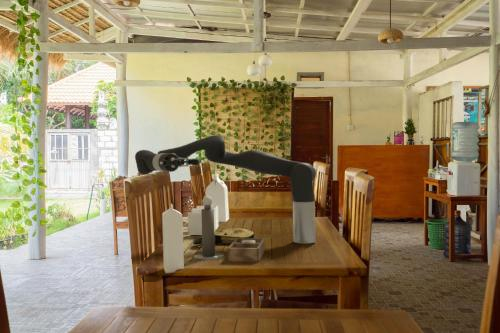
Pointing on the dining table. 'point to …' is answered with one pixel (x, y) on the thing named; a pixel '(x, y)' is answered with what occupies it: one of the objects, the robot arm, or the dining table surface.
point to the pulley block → (229, 236)
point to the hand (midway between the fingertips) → (189, 162)
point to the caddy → (246, 249)
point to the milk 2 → (219, 197)
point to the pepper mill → (208, 228)
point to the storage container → (199, 220)
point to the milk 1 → (172, 240)
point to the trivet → (217, 255)
